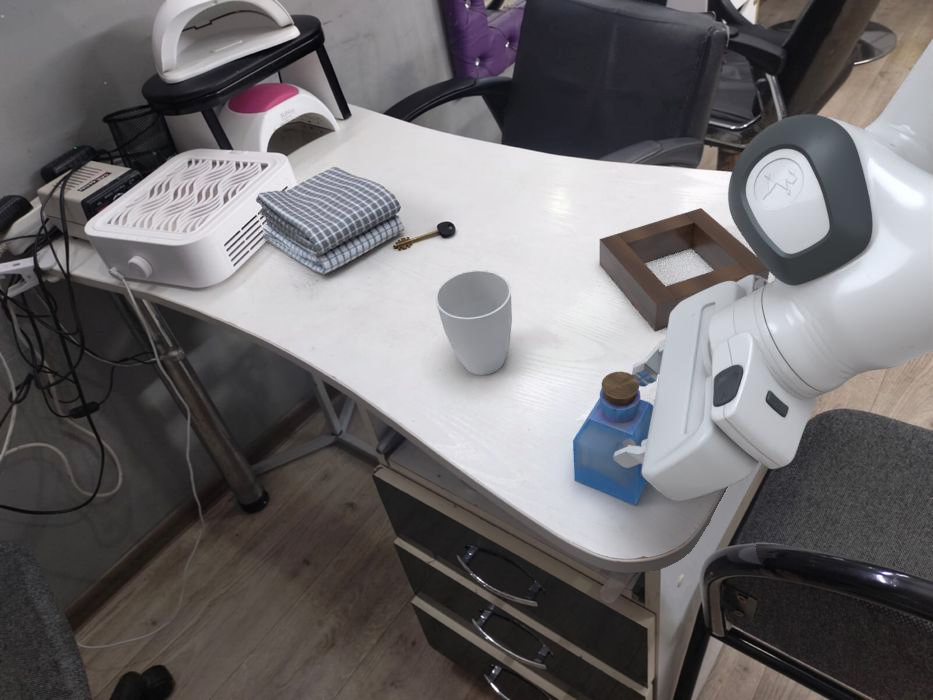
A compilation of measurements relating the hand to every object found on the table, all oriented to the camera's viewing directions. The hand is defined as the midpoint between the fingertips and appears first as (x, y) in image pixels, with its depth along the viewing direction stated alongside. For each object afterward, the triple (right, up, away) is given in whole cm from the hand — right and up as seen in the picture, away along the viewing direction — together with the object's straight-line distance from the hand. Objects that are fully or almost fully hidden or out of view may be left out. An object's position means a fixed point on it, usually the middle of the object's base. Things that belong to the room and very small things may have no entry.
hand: (628, 414), depth 61 cm
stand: (+12, +15, +24) cm, 31 cm away
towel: (-34, +23, +42) cm, 59 cm away
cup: (-12, +5, +19) cm, 23 cm away
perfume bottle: (0, -6, +5) cm, 8 cm away
